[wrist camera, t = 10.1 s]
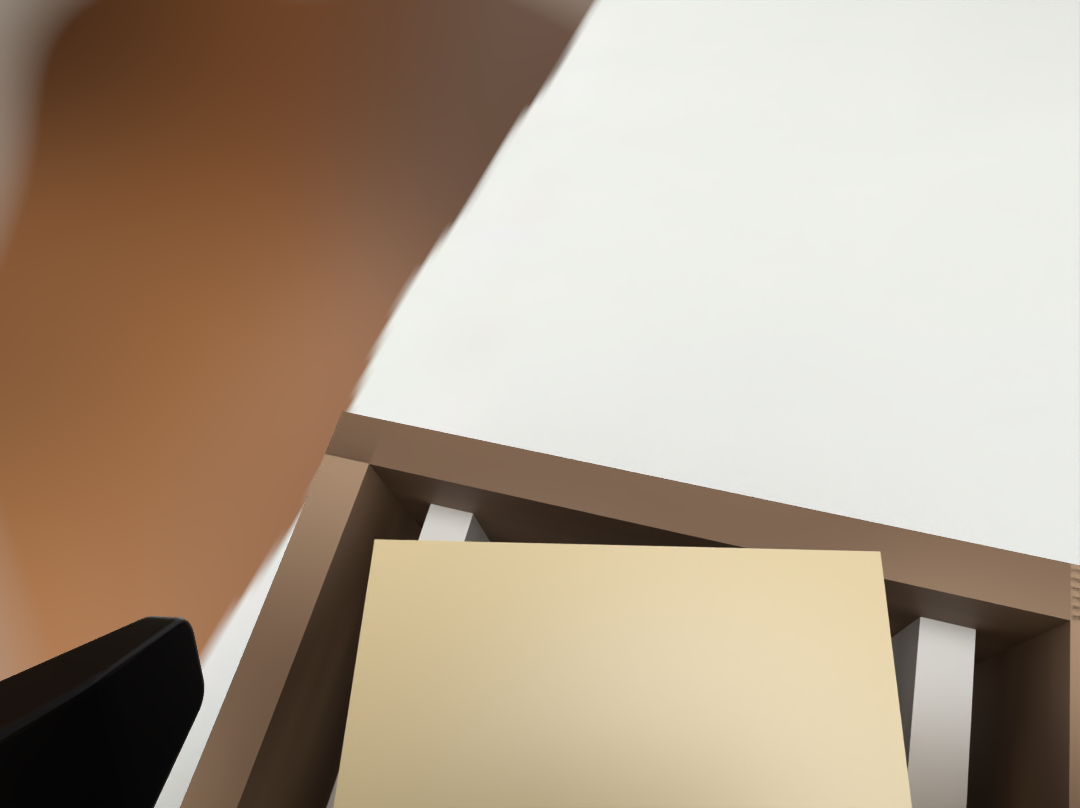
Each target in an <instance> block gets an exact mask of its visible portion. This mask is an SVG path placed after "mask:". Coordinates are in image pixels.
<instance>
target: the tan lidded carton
mask: <svg viewBox="0 0 1080 808" xmlns="http://www.w3.org/2000/svg"><path fill="white" fill-rule="evenodd" d="M333 808H912V803H911V795H910V787H909V779H908V771H907V763H906V755H905V747H904V739H903V731H902V723H901V714H900V706H899V698H898V690H897V682H896V674H895V666H894V658H893V650H892V642H891V634H890V626H889V617H888V609H887V601H886V593H885V585H884V577H883V569H882V561H881V553H880V551H838V550H797V549H755V548H714V547H672V546H631V545H589V544H547V543H506V542H464V541H423V540H381V539H375V540H374V547H373V553H372V560H371V566H370V573H369V579H368V586H367V592H366V599H365V605H364V612H363V618H362V625H361V631H360V638H359V644H358V651H357V657H356V664H355V670H354V677H353V683H352V690H351V696H350V703H349V709H348V716H347V722H346V729H345V735H344V742H343V748H342V755H341V761H340V768H339V774H338V781H337V787H336V794H335V800H334V807H333Z"/></svg>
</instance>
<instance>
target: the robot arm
mask: <svg viewBox="0 0 1080 808" xmlns="http://www.w3.org/2000/svg"><path fill="white" fill-rule="evenodd" d="M203 696H204V680H203V675H202V670H201V665H200V660H199V655H198V651H197V646H196V641H195V636H194V632H193V628H192V626H191V625H190V623H189V622H188V621H187V620H186V619H184V618H181V617H160V616H151V617H145V618H143V619H140V620H138V621H136V622H134V623H131V624H129V625H127V626H124V627H122V628H120V629H118V630H115V631H113V632H111V633H109V634H106V635H104V636H102V637H100V638H97V639H95V640H93V641H90V642H88V643H86V644H84V645H82V646H79V647H77V648H75V649H72V650H70V651H68V652H66V653H63V654H61V655H59V656H57V657H54V658H52V659H50V660H48V661H45V662H43V663H41V664H38V665H36V666H34V667H32V668H29V669H27V670H25V671H23V672H20V673H18V674H16V675H13V676H11V677H9V678H7V679H4V680H2V681H0V808H154V806H155V804H156V802H157V800H158V798H159V795H160V793H161V791H162V789H163V787H164V785H165V783H166V780H167V778H168V776H169V774H170V772H171V770H172V768H173V766H174V763H175V761H176V759H177V757H178V755H179V753H180V751H181V748H182V746H183V744H184V742H185V740H186V738H187V736H188V733H189V731H190V729H191V727H192V725H193V723H194V721H195V718H196V716H197V714H198V712H199V710H200V707H201V704H202V701H203Z"/></svg>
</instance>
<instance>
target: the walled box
mask: <svg viewBox="0 0 1080 808" xmlns="http://www.w3.org/2000/svg"><path fill="white" fill-rule="evenodd" d="M375 539H381V540H423V541H464V542H506V543H547V544H589V545H631V546H672V547H714V548H755V549H797V550H838V551H880V553H881V561H882V569H883V577H884V585H885V593H886V601H887V609H888V617H889V626H890V634H891V642H892V650H893V658H894V666H895V674H896V682H897V690H898V698H899V706H900V714H901V723H902V731H903V739H904V747H905V755H906V763H907V771H908V779H909V787H910V795H911V803H912V808H1080V565H1075V564H1070V563H1065V562H1061V561H1056V560H1051V559H1046V558H1041V557H1037V556H1032V555H1027V554H1022V553H1017V552H1013V551H1008V550H1003V549H998V548H994V547H989V546H984V545H979V544H974V543H970V542H965V541H960V540H955V539H951V538H946V537H941V536H936V535H931V534H927V533H922V532H917V531H912V530H907V529H903V528H898V527H893V526H888V525H884V524H879V523H874V522H869V521H864V520H860V519H855V518H850V517H845V516H840V515H836V514H831V513H826V512H821V511H817V510H812V509H807V508H802V507H797V506H793V505H788V504H783V503H778V502H773V501H769V500H764V499H759V498H754V497H750V496H745V495H740V494H735V493H730V492H726V491H721V490H716V489H711V488H706V487H702V486H697V485H692V484H687V483H683V482H678V481H673V480H668V479H663V478H659V477H654V476H649V475H644V474H639V473H635V472H630V471H625V470H620V469H616V468H611V467H606V466H601V465H596V464H592V463H587V462H582V461H577V460H573V459H568V458H563V457H558V456H553V455H549V454H544V453H539V452H534V451H529V450H525V449H520V448H515V447H510V446H506V445H501V444H496V443H491V442H486V441H482V440H477V439H472V438H467V437H462V436H458V435H453V434H448V433H443V432H439V431H434V430H429V429H424V428H419V427H415V426H410V425H405V424H400V423H395V422H391V421H386V420H381V419H376V418H372V417H367V416H362V415H357V414H352V413H348V412H342V414H341V417H340V419H339V421H338V424H337V426H336V429H335V431H334V434H333V436H332V438H331V441H330V443H329V446H328V448H327V451H326V453H325V456H324V458H323V460H322V463H321V465H320V468H319V470H318V473H317V475H316V477H315V480H314V482H313V485H312V487H311V490H310V492H309V495H308V497H307V499H306V502H305V504H304V507H303V509H302V512H301V514H300V517H299V519H298V521H297V524H296V526H295V529H294V531H293V534H292V536H291V538H290V541H289V543H288V546H287V548H286V551H285V553H284V556H283V558H282V560H281V563H280V565H279V568H278V570H277V573H276V575H275V577H274V580H273V582H272V585H271V587H270V590H269V592H268V595H267V597H266V599H265V602H264V604H263V607H262V609H261V612H260V614H259V616H258V619H257V621H256V624H255V626H254V629H253V631H252V634H251V636H250V638H249V641H248V643H247V646H246V648H245V651H244V653H243V656H242V658H241V660H240V663H239V665H238V668H237V670H236V673H235V675H234V677H233V680H232V682H231V685H230V687H229V690H228V692H227V695H226V697H225V699H224V702H223V704H222V707H221V709H220V712H219V714H218V716H217V719H216V721H215V724H214V726H213V729H212V731H211V734H210V736H209V738H208V741H207V743H206V746H205V748H204V751H203V753H202V756H201V758H200V760H199V763H198V765H197V768H196V770H195V773H194V775H193V777H192V780H191V782H190V785H189V787H188V790H187V792H186V795H185V797H184V799H183V802H182V804H181V807H180V808H333V807H334V800H335V794H336V787H337V781H338V774H339V768H340V761H341V755H342V748H343V742H344V735H345V729H346V722H347V716H348V709H349V703H350V696H351V690H352V683H353V677H354V670H355V664H356V657H357V651H358V644H359V638H360V631H361V625H362V618H363V612H364V605H365V599H366V592H367V586H368V579H369V573H370V566H371V560H372V553H373V547H374V540H375Z"/></svg>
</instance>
